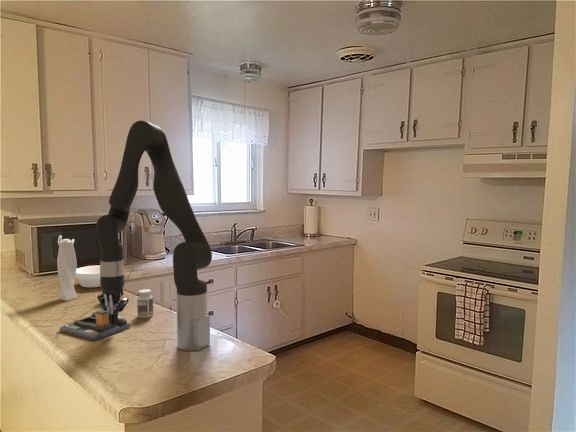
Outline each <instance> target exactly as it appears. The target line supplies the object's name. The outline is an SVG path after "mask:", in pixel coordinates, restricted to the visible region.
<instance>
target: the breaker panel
mask: <svg viewBox="0 0 576 432" xmlns="http://www.w3.org/2000/svg"><path fill="white" fill-rule="evenodd" d="M130 328H131V324H130V322H129V323H128V322H127V323H126V324H124V325H119V324H114V325H111V324H108V325H105V326H102V327H101V326H97V325H96V318H95V317H91V315H90V316H87V317H83V318H81V319H77V320H74V321H73V322H72V323H69V324H64V325H62V326H60V327H59V332H61V333H64V334H67V335H71V336H75V337H79V338H83V339H85V340H86V339H87V340H91V341H94V342H96V341H98V340H99V341H100V340H101V339H104V338H107V337H109V336H112V335H114V334H116V333H119V332H122V331H124V330H127V329H130Z"/></svg>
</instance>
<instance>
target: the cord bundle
mask: <svg viewBox="0 0 576 432" xmlns="http://www.w3.org/2000/svg"><path fill="white" fill-rule="evenodd" d="M90 316H91V317H95V318H96V311H92V315H90ZM126 323H128V320H127V319H126V318H123V317H122V316H118V322H117V324H119V325H124V324H126Z"/></svg>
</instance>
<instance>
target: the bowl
mask: <svg viewBox="0 0 576 432" xmlns="http://www.w3.org/2000/svg"><path fill="white" fill-rule="evenodd" d="M76 279H77V280H78V281H79V284H80V286H81V287H83V288H98V287H99V288H101V287H100V264H99V265H87V266H83V267H77V269H76V277H75V280H76Z"/></svg>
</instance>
